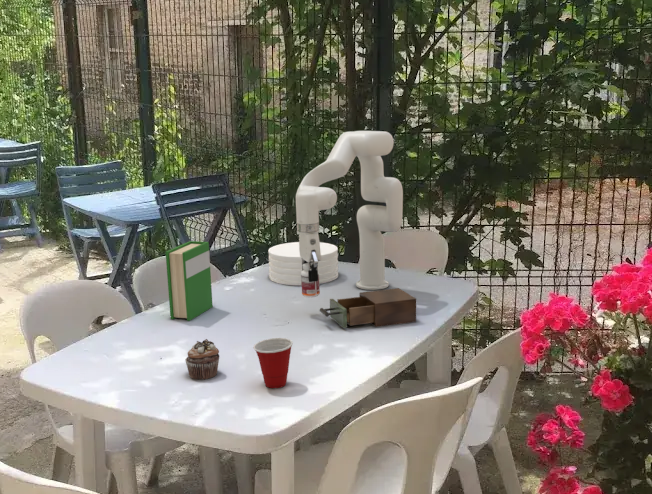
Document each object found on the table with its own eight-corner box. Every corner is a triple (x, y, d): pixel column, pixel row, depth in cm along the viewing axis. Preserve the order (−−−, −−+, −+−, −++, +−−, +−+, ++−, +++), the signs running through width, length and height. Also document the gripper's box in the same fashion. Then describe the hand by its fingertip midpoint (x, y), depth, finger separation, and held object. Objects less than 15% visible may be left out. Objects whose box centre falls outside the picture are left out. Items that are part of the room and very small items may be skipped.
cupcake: (206, 366, 251) (204, 333, 248) (227, 374, 244) (225, 340, 242) (179, 375, 245) (177, 341, 242) (200, 383, 238) (198, 349, 235)
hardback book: (189, 320, 295) (184, 252, 288) (170, 319, 297) (165, 251, 291) (212, 306, 311) (208, 242, 304) (194, 305, 313) (190, 241, 307)
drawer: (329, 329, 278) (328, 311, 276) (316, 318, 290) (315, 300, 288) (381, 323, 283) (381, 304, 281) (367, 312, 295) (366, 294, 294)
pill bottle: (312, 291, 300) (310, 261, 297) (323, 295, 295) (322, 264, 292) (298, 295, 296) (296, 264, 293) (309, 298, 292) (308, 267, 289)
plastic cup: (254, 378, 240) (252, 337, 237) (292, 376, 241) (291, 335, 238) (255, 393, 230) (253, 350, 227) (295, 390, 231) (294, 348, 227)
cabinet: (375, 327, 282) (375, 303, 280) (359, 315, 295) (359, 292, 293) (416, 322, 286) (416, 298, 284) (398, 310, 299) (398, 288, 297)
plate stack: (258, 282, 342) (256, 254, 339) (285, 266, 367) (284, 240, 364) (323, 287, 331) (323, 258, 328) (347, 270, 356) (347, 243, 353)
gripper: (326, 231, 282) (328, 283, 287) (310, 221, 298) (312, 271, 303) (305, 233, 280) (307, 286, 285) (290, 224, 296) (292, 274, 301)
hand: (310, 278), depth 294 cm, fingers closed on pill bottle, 6 cm apart
